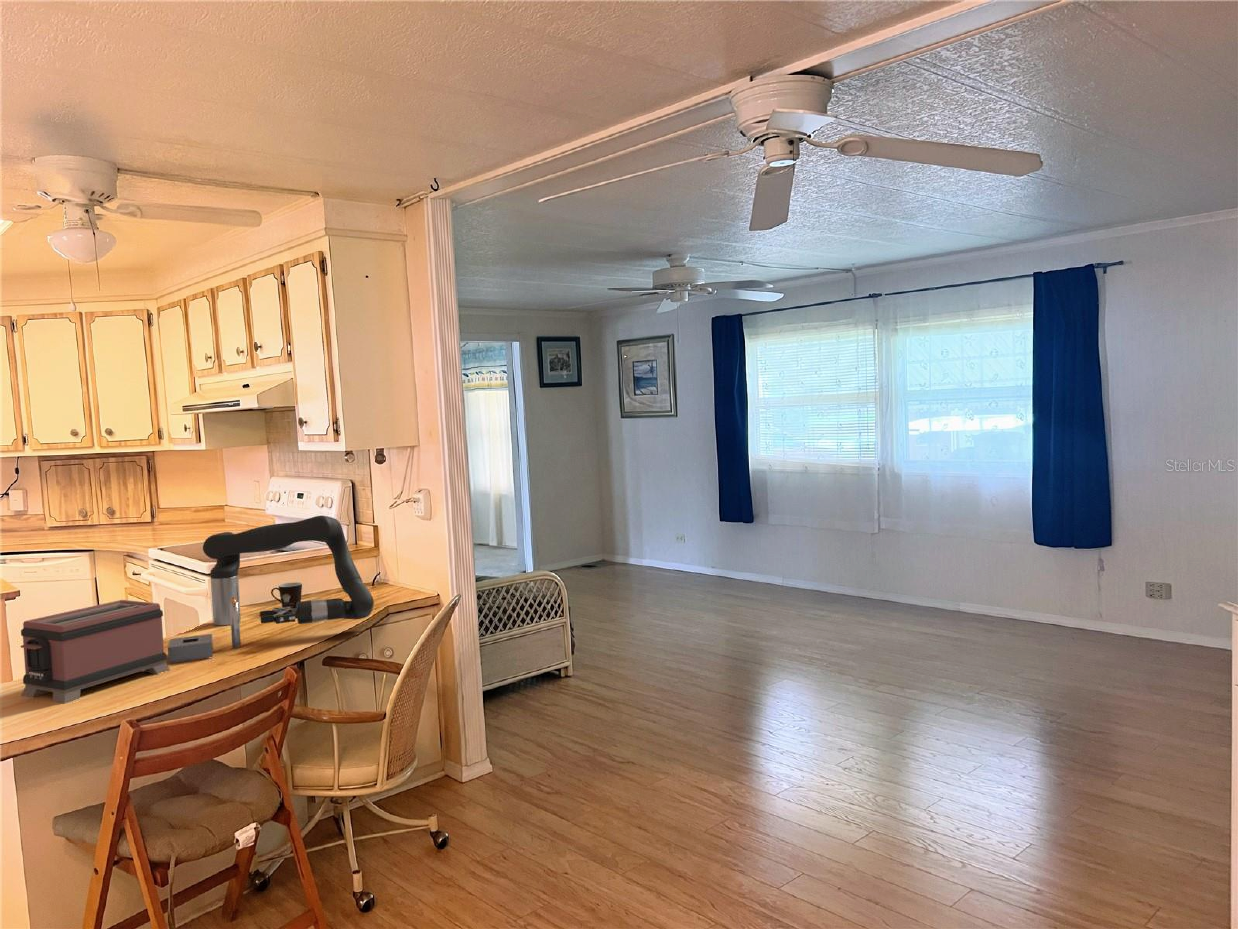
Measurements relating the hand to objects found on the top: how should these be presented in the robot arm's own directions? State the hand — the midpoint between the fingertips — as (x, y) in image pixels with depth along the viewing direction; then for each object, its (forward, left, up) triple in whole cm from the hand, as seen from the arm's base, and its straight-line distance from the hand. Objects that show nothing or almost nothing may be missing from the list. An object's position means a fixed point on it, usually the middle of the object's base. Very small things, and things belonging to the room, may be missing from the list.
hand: (260, 617), depth 278 cm
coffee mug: (-51, +11, -9) cm, 53 cm away
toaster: (+22, -45, -9) cm, 51 cm away
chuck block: (+4, -21, -9) cm, 23 cm away
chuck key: (0, -8, -9) cm, 12 cm away
